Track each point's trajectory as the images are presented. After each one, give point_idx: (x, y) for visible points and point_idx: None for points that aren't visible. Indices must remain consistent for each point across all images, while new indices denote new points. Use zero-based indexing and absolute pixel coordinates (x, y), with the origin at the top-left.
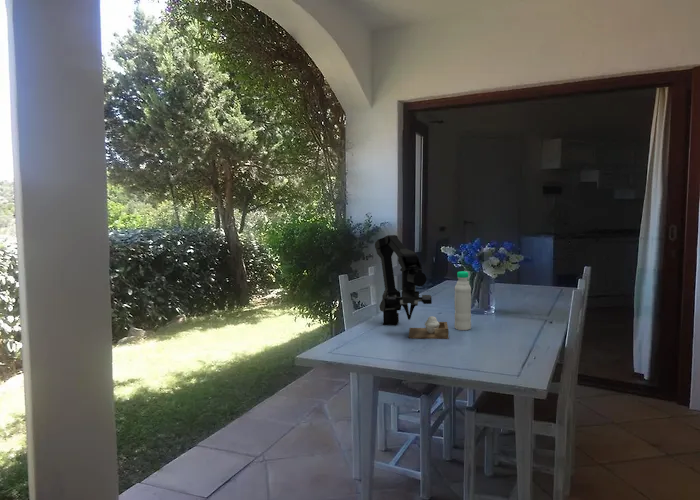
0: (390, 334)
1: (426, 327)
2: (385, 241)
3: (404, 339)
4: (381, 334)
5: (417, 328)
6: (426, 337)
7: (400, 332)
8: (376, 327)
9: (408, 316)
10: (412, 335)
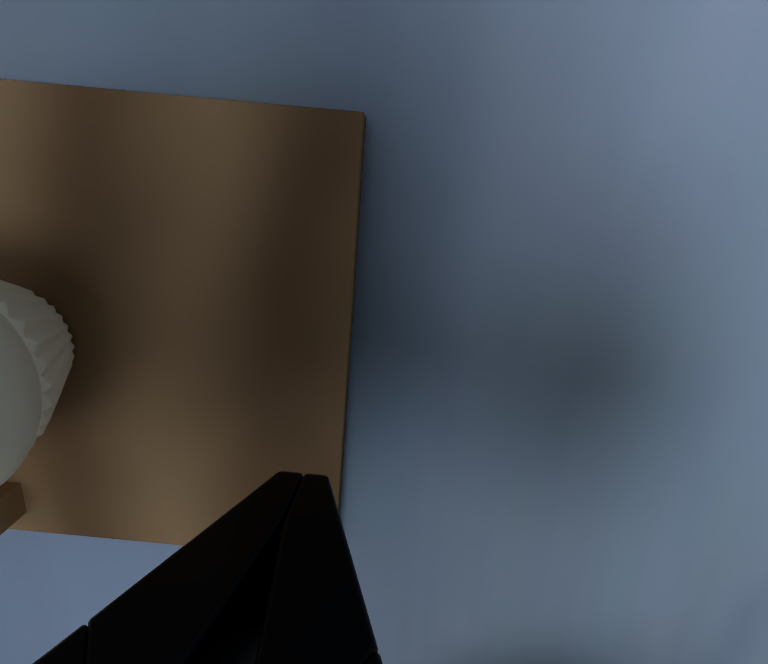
0: (608, 343)
1: (27, 336)
2: None
3: (436, 51)
4: (736, 347)
5: None
6: (78, 86)
7: (458, 431)
8: (715, 634)
9: (302, 520)
10: (299, 171)
